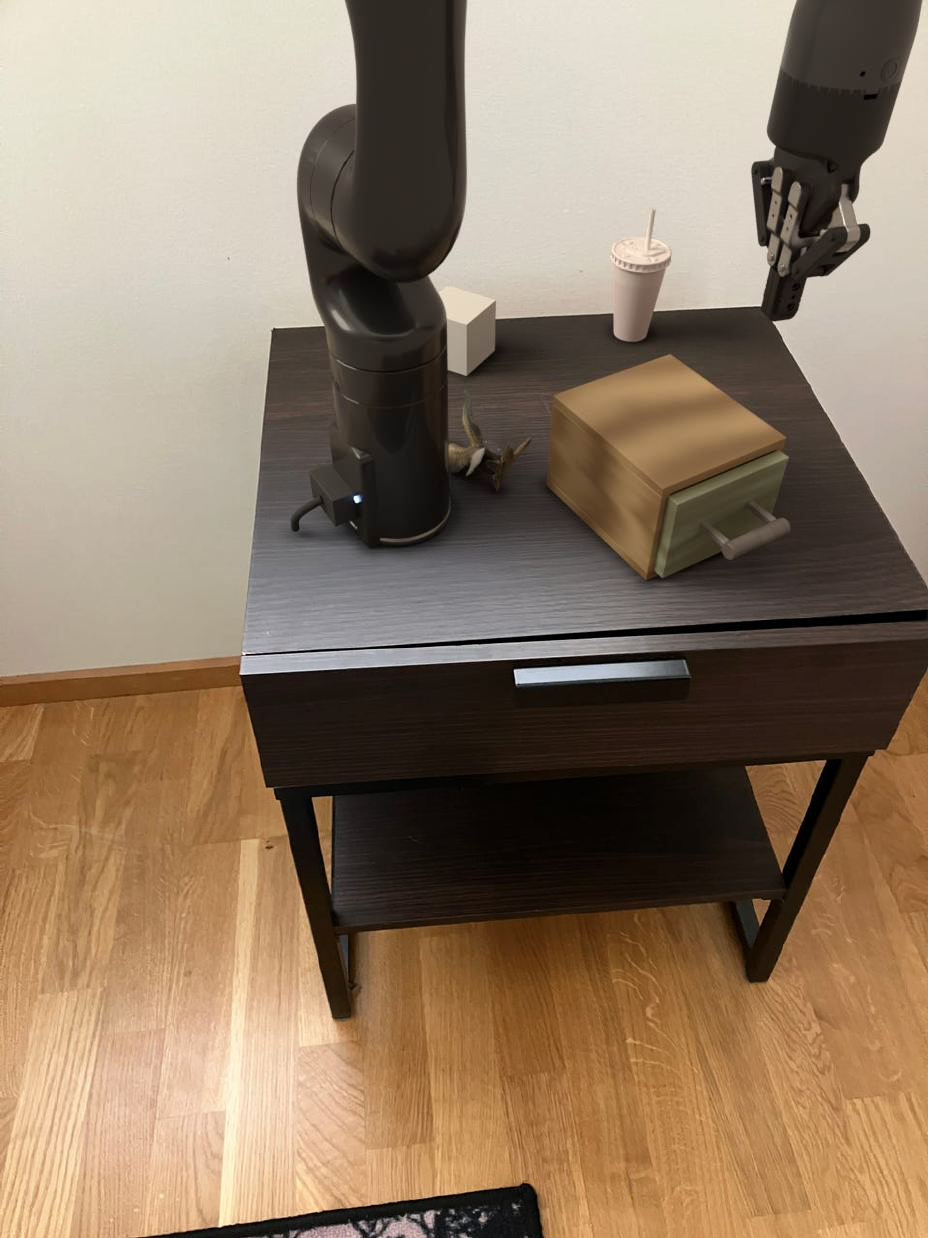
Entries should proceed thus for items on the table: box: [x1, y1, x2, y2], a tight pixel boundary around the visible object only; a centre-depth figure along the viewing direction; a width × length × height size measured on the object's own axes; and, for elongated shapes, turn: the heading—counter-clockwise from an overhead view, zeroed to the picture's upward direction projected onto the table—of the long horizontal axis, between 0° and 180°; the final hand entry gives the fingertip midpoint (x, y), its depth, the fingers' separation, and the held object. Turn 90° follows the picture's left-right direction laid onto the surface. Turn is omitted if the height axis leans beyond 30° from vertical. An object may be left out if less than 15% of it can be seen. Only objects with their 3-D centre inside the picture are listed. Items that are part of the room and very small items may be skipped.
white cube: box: [438, 285, 497, 377], centre depth 103 cm, size 6×6×6 cm
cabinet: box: [546, 353, 787, 581], centre depth 84 cm, size 15×13×10 cm
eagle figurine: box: [449, 389, 533, 492], centre depth 89 cm, size 8×7×9 cm
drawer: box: [654, 450, 791, 579], centre depth 81 cm, size 18×12×8 cm, turn 31°
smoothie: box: [609, 207, 673, 343], centre depth 103 cm, size 6×6×14 cm
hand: (777, 315), depth 73 cm, fingers closed
